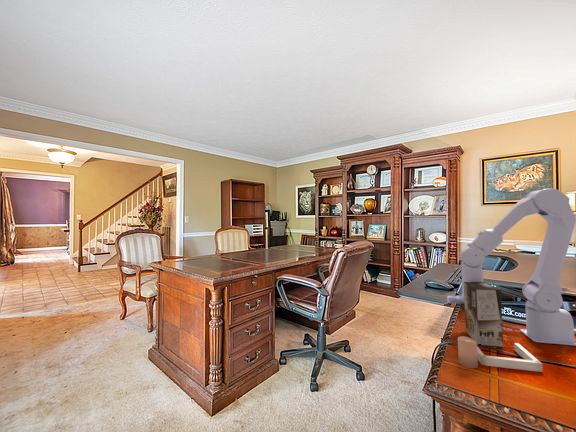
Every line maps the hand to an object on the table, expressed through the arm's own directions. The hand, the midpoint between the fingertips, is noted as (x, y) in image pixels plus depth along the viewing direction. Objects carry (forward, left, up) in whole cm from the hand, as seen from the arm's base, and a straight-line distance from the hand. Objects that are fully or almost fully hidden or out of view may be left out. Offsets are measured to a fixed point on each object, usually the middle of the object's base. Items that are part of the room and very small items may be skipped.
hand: (474, 326), depth 84 cm
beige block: (+9, +23, -1) cm, 24 cm away
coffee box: (0, +7, -1) cm, 7 cm away
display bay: (0, +18, -1) cm, 18 cm away
